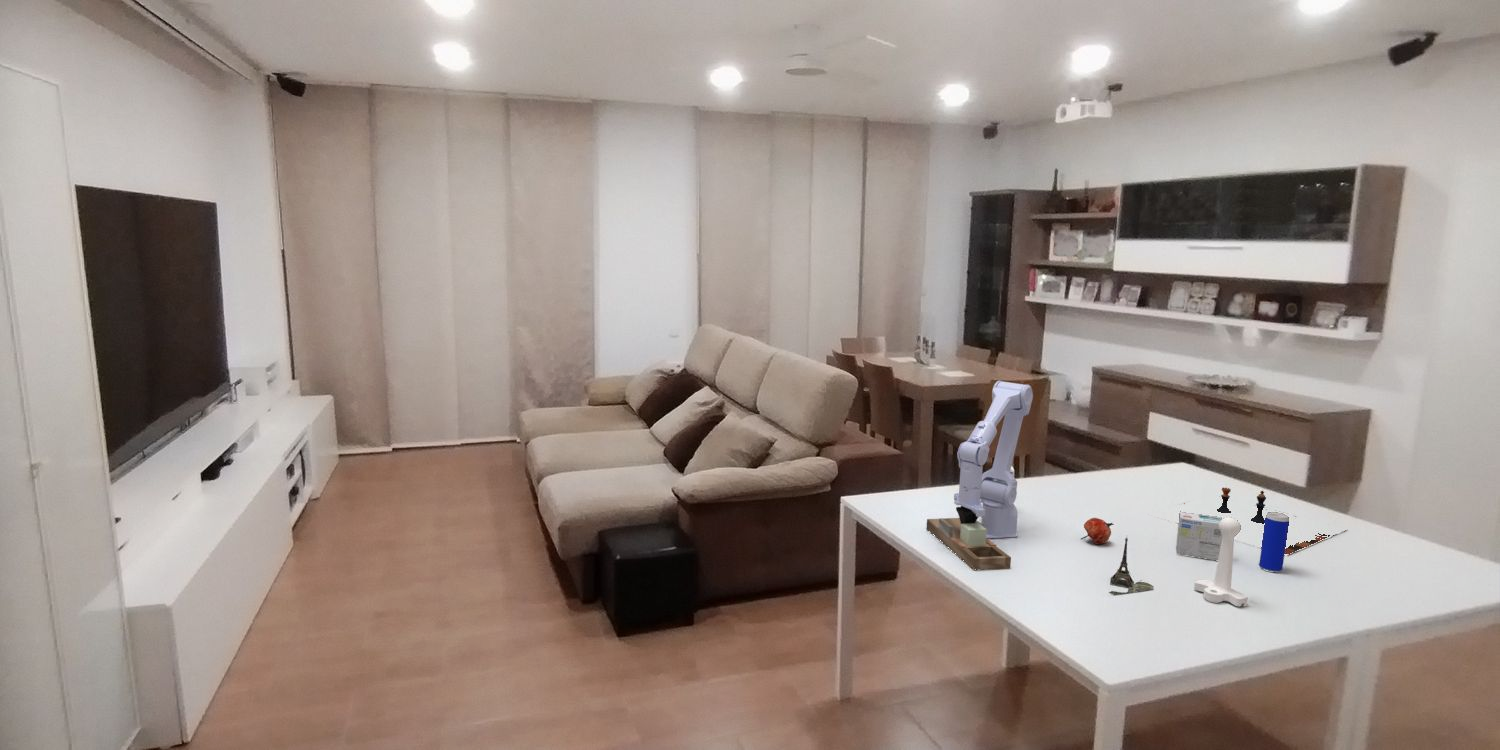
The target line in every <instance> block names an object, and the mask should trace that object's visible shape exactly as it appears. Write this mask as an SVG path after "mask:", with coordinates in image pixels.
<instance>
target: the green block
mask: <svg viewBox="0 0 1500 750" xmlns="http://www.w3.org/2000/svg"><path fill="white" fill-rule="evenodd" d="M986 534H987V529H986V528H984V527H983V526H981V525H980V524H979V523H968V524H961V532H960V540H961V541H962V542H963V543H965V544H966V545H967V546H986Z"/></svg>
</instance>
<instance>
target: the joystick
mask: <svg viewBox="0 0 1500 750" xmlns="http://www.w3.org/2000/svg"><path fill="white" fill-rule="evenodd" d="M1219 529H1220V531H1221V532H1222V535H1223V538H1222V543H1221V548H1220V554H1219V559H1218V561H1217V565H1216V571H1215V575H1214V581H1210V580H1207V579H1198V580H1196V581H1194V583H1193V584H1194V586H1193V590H1195V591H1199V592H1202V593H1203V595H1202V598H1203V599H1205V600H1206V602H1210V603H1212V604H1219V603H1221V602H1223V601H1224V602H1228V603H1231V604H1232V605H1233V606H1236V607H1247V605H1248V595H1246V594H1244V593H1242V592H1240V591H1238V590H1236V589H1233V588H1232V579H1233V578H1232V577H1233V576H1232V575H1233V564H1234V563H1233V561H1234V547H1235V541H1234V537H1235V536H1236V535H1237V534H1238V533H1239V532H1240V530H1241V525H1240V523H1239V522H1238V520H1236V519H1235V518H1232V517H1226V518H1223V519H1222V520H1221V521H1220V523H1219Z"/></svg>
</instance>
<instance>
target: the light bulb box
mask: <svg viewBox="0 0 1500 750" xmlns="http://www.w3.org/2000/svg"><path fill="white" fill-rule="evenodd" d="M1221 520H1222V517H1217V516H1209V515H1202V514H1194V513H1186V512H1181V511H1180V513H1179V523H1177V525H1178V526H1177V535H1176V545H1175V551H1176V552H1175V553H1177V554H1180V555H1179V556H1183V555H1188V556H1187V557H1189V556H1194V557H1193V558H1195V557H1200V558H1199V559H1201V558H1206V559H1205V560H1207V559H1212V560H1211V561H1214V560H1218V559H1219V554H1220V548H1221V543H1222V538H1223V535H1222V532H1221V531H1220V529H1219V523H1220V521H1221ZM1177 554H1176V555H1177Z"/></svg>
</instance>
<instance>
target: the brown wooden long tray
mask: <svg viewBox="0 0 1500 750" xmlns="http://www.w3.org/2000/svg"><path fill="white" fill-rule="evenodd" d="M975 523H979V524H980V525H981V526H983V527H984V525H982V524H981V521H980V522H979V521H978V519H977V520H976V522H975ZM926 530H927V531H928V532H929V531H930V532H931V533H930V532H929V533H930V534H932V535H933V534H934V535H935V536H936V537H937V538H938V539H937V538H936V537H935V536H934V535H933V536H934V537H935V538H936V539H937V540H939V539H940V540H941V541H942V542H943V543H944V544H945V545H946V546H945V545H944V544H943V543H942V542H941V541H940V540H939V541H940V542H941V543H942V544H943V545H944V546H945V547H946V548H948V547H949V548H950V549H951V550H952V551H953V552H954V553H953V552H952V551H951V550H950V549H949V548H948V549H949V550H950V551H951V552H952V553H953V554H955V553H956V554H957V555H958V556H959V557H960V558H961V560H962V559H963V560H964V561H965V562H966V563H967V564H968V565H969V566H968V565H967V564H966V563H965V562H964V561H963V560H962V561H963V562H964V563H965V564H966V565H967V566H968V567H970V568H971V567H972V568H973V569H974V570H973V569H972V568H971V569H972V570H973V571H979V570H978V569H992V570H1005V569H1006V570H1007V569H1011V564H1012V557H1011V556H1010V555H1009V554H1007V552H1004V551H1003V550H1002V549H1001V548H999V547H998V546H997V544H996V543H994V541H992V540H990V538H986V546H967V545H966V544H965V543H963V542H962V541H961V540H960V532H961V522H960V518H959V517H949V518H944V517H941V518H927V519H926ZM956 554H955V555H956ZM957 555H956V556H957ZM958 556H957V557H958ZM959 557H958V558H959ZM960 558H959V559H960ZM975 569H977V570H975Z"/></svg>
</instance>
